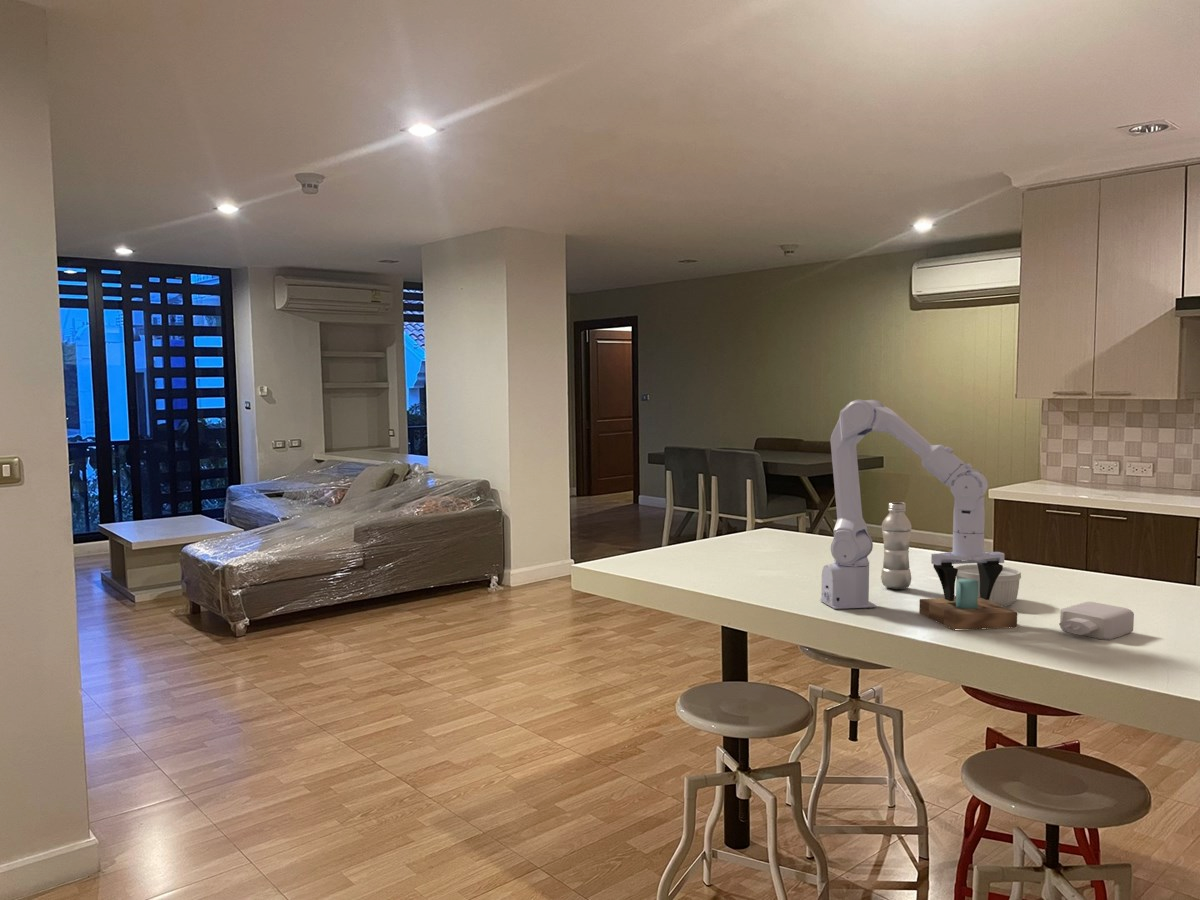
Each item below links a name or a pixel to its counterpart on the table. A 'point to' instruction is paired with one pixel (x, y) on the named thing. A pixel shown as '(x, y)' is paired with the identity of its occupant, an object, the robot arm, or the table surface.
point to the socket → (968, 614)
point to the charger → (1097, 620)
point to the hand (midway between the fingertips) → (967, 599)
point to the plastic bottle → (896, 548)
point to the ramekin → (1003, 586)
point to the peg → (967, 594)
